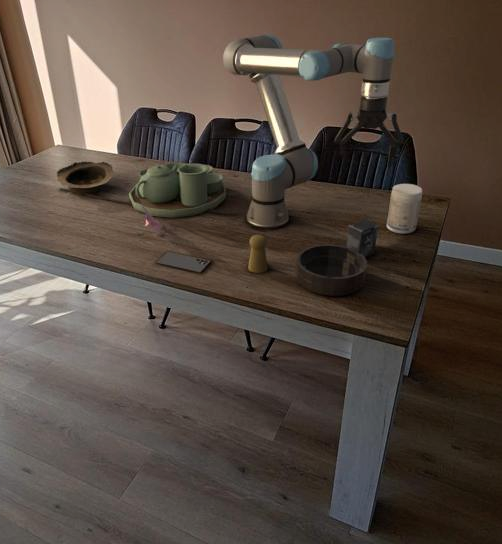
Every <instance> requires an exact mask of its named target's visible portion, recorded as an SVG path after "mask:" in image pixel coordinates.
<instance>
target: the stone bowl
mask: <svg viewBox="0 0 502 544" xmlns="http://www.w3.org/2000/svg"><path fill="white" fill-rule="evenodd" d="M114 174H115V172H114V169H113V166H112V165H111V164H110V163H108V162H105V161H101V162H93V161H80V162H73V163H72V164H70V165H67V166H64V167H62V168H60V169H59V170H57V172H56V177H57V178H56V180H57V181H58V182H59V183H60V184H61V185H62V186H64V187H67V189H68V190H70V191H71V192H70V193H72V194H76V195H79V196H85V195H84V194H86V193H88V194H92V195H94V194H95V193H96V192H98V191H100V190H102V189H103V188H104V187H105V186H106V184H107V183H108V182H109V181H110V180H111V179H113V177H114ZM73 192H74V193H73Z"/></svg>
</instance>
